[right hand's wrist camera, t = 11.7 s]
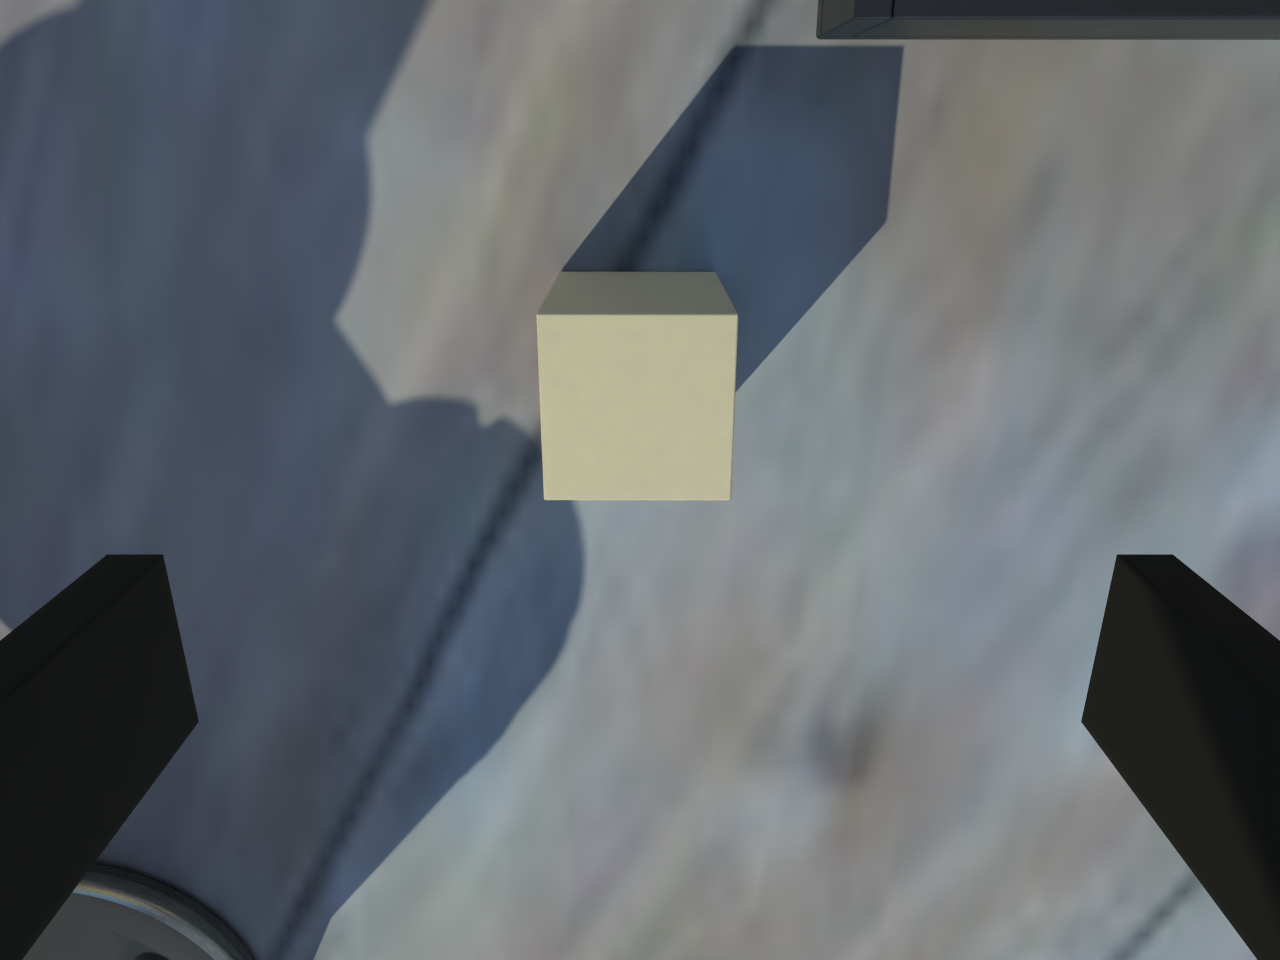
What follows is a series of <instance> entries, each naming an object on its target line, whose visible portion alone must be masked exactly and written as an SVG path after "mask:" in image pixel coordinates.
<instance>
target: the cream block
mask: <svg viewBox="0 0 1280 960" xmlns="http://www.w3.org/2000/svg"><path fill="white" fill-rule="evenodd" d="M536 317H537V342H538V367H539V391H540V416H541V441H542V465H543V490H544V500H730V499H731V485H732V461H733V437H734V412H735V388H736V363H737V339H738V313H737V311H736V310H735V308H734V306H733V304H732V302H731V300H730V298H729V296H728V294H727V293H726V291H725V289H724V287H723V285H722V283H721V281H720V279H719V277H718V276H717V274H716V272H559V274H558V276H557V278H556V280H555V282H554V284H553V285H552V287H551V289H550V291H549V293H548V295H547V296H546V298H545V300H544V302H543V304H542V306H541V307H540V309H539V311H538V313H537V315H536Z"/></svg>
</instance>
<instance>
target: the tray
mask: <svg viewBox="0 0 1280 960" xmlns="http://www.w3.org/2000/svg"><path fill="white" fill-rule="evenodd" d="M816 36H817V38H818V39H1181V40H1280V0H818V15H817V30H816Z"/></svg>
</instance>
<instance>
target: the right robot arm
mask: <svg viewBox="0 0 1280 960" xmlns="http://www.w3.org/2000/svg"><path fill="white" fill-rule="evenodd" d="M198 722H199V721H198V716H197V712H196V707H195V702H194V698H193V693H192V688H191V684H190V679H189V674H188V670H187V665H186V660H185V655H184V651H183V646H182V641H181V637H180V632H179V627H178V623H177V618H176V613H175V609H174V604H173V599H172V595H171V590H170V585H169V581H168V576H167V571H166V567H165V562H164V557H163V555H106V556H105V557H104V558H103V559H101V560H100V561H99V562H98V563H96V564H95V565H94V566H93V567H91V568H90V569H89V570H88V571H86V572H85V573H84V574H83V575H81V576H80V577H79V578H78V579H76V580H75V581H74V582H73V583H71V584H70V585H69V586H68V587H67V588H65V589H64V590H63V591H62V592H60V593H59V594H58V595H57V596H55V597H54V598H53V599H52V600H50V601H49V602H48V603H47V604H45V605H44V606H43V607H42V608H40V609H39V610H38V611H37V612H35V613H34V614H33V615H32V616H30V617H29V618H28V619H27V620H26V621H24V622H23V623H22V624H21V625H19V626H18V627H17V628H16V629H14V630H13V631H12V632H11V633H9V634H8V635H7V636H6V637H4V638H3V639H2V640H1V641H0V960H254V959H253V958H252V956H251V955H250V953H249V952H248V950H247V949H246V947H245V946H244V945H243V944H242V942H241V941H240V940H239V939H238V938H237V936H236V935H235V934H234V933H233V932H232V931H231V930H230V929H229V928H228V927H227V926H226V925H225V924H224V923H223V922H222V921H220V920H219V919H218V918H217V917H216V916H214V915H213V914H212V913H211V912H210V911H208V910H207V909H205V908H204V907H202V906H201V905H200V904H198V903H197V902H195V901H194V900H192V899H190V898H189V897H187V896H185V895H183V894H182V893H180V892H178V891H176V890H174V889H172V888H170V887H168V886H166V885H164V884H162V883H159V882H157V881H154V880H152V879H150V878H147V877H144V876H141V875H138V874H135V873H132V872H129V871H126V870H122V869H118V868H114V867H110V866H105V865H99V864H94V862H95V861H96V860H97V858H98V857H99V856H100V854H101V853H102V852H103V850H104V849H105V847H106V846H107V845H108V843H109V842H110V841H111V839H112V838H113V837H114V835H115V834H116V833H117V831H118V830H119V829H120V827H121V826H122V825H123V823H124V822H125V820H126V819H127V818H128V816H129V815H130V814H131V812H132V811H133V810H134V808H135V807H136V806H137V804H138V803H139V802H140V800H141V799H142V798H143V796H144V795H145V793H146V792H147V791H148V789H149V788H150V787H151V785H152V784H153V783H154V781H155V780H156V779H157V777H158V776H159V775H160V773H161V772H162V771H163V769H164V768H165V766H166V765H167V764H168V762H169V761H170V760H171V758H172V757H173V756H174V754H175V753H176V752H177V750H178V749H179V748H180V746H181V745H182V744H183V742H184V741H185V739H186V738H187V737H188V735H189V734H190V733H191V731H192V730H193V729H194V727H195V726H196V725H197V723H198ZM1081 722H1082V723H1083V725H1084V726H1085V727H1086V729H1087V730H1088V731H1089V733H1090V734H1091V735H1092V737H1093V738H1094V739H1095V741H1096V742H1097V744H1098V745H1099V746H1100V748H1101V749H1102V750H1103V752H1104V753H1105V754H1106V756H1107V757H1108V758H1109V760H1110V761H1111V762H1112V764H1113V765H1114V766H1115V768H1116V769H1117V771H1118V772H1119V773H1120V775H1121V776H1122V777H1123V779H1124V780H1125V781H1126V783H1127V784H1128V785H1129V787H1130V788H1131V789H1132V791H1133V792H1134V793H1135V795H1136V796H1137V798H1138V799H1139V800H1140V802H1141V803H1142V804H1143V806H1144V807H1145V808H1146V810H1147V811H1148V812H1149V814H1150V815H1151V816H1152V818H1153V819H1154V820H1155V822H1156V823H1157V825H1158V826H1159V827H1160V829H1161V830H1162V831H1163V833H1164V834H1165V835H1166V837H1167V838H1168V839H1169V841H1170V842H1171V843H1172V845H1173V846H1174V847H1175V849H1176V850H1177V852H1178V853H1179V854H1180V856H1181V857H1182V858H1183V860H1184V861H1185V862H1186V864H1187V865H1188V866H1189V868H1190V869H1191V870H1192V872H1193V873H1194V874H1195V876H1196V877H1197V879H1198V880H1199V881H1200V883H1201V884H1202V885H1203V887H1204V888H1205V889H1206V891H1207V892H1208V893H1209V895H1210V896H1211V897H1212V899H1213V900H1214V901H1215V903H1216V904H1217V906H1218V907H1219V908H1220V910H1221V911H1222V912H1223V914H1224V915H1225V916H1226V918H1227V919H1228V920H1229V922H1230V923H1231V924H1232V926H1233V927H1234V929H1235V930H1236V931H1237V933H1238V934H1239V935H1240V937H1241V938H1242V939H1243V941H1244V942H1245V943H1246V945H1247V946H1248V947H1249V949H1250V950H1251V951H1252V953H1253V954H1254V956H1255V957H1256V958H1257V960H1280V641H1279V640H1278V639H1277V638H1276V637H1274V636H1273V635H1272V634H1271V633H1269V632H1268V631H1267V630H1266V629H1264V628H1263V627H1262V626H1261V625H1259V624H1258V623H1257V622H1256V621H1254V620H1253V619H1252V618H1251V617H1250V616H1248V615H1247V614H1246V613H1245V612H1243V611H1242V610H1241V609H1240V608H1238V607H1237V606H1236V605H1235V604H1233V603H1232V602H1231V601H1230V600H1228V599H1227V598H1226V597H1225V596H1223V595H1222V594H1221V593H1220V592H1218V591H1217V590H1216V589H1215V588H1213V587H1212V586H1211V585H1210V584H1209V583H1207V582H1206V581H1205V580H1204V579H1202V578H1201V577H1200V576H1199V575H1197V574H1196V573H1195V572H1194V571H1192V570H1191V569H1190V568H1189V567H1187V566H1186V565H1185V564H1184V563H1182V562H1181V561H1180V560H1179V559H1177V558H1176V557H1175V556H1174V555H1117V557H1116V562H1115V567H1114V571H1113V576H1112V581H1111V585H1110V590H1109V595H1108V599H1107V604H1106V609H1105V613H1104V618H1103V623H1102V627H1101V632H1100V637H1099V641H1098V646H1097V651H1096V655H1095V660H1094V665H1093V670H1092V674H1091V679H1090V684H1089V688H1088V693H1087V698H1086V702H1085V707H1084V712H1083V716H1082V721H1081Z"/></svg>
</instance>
